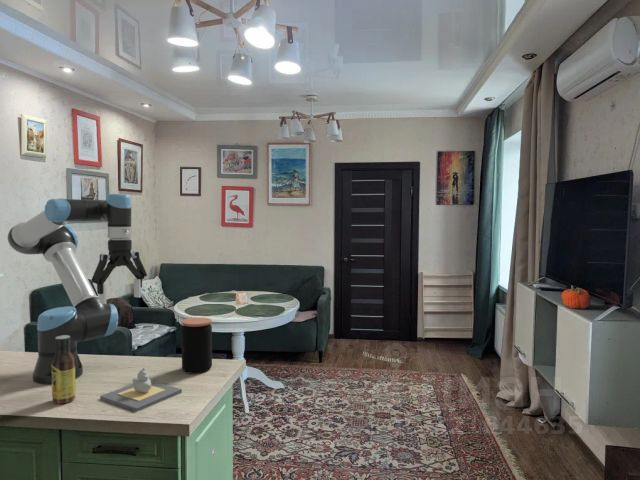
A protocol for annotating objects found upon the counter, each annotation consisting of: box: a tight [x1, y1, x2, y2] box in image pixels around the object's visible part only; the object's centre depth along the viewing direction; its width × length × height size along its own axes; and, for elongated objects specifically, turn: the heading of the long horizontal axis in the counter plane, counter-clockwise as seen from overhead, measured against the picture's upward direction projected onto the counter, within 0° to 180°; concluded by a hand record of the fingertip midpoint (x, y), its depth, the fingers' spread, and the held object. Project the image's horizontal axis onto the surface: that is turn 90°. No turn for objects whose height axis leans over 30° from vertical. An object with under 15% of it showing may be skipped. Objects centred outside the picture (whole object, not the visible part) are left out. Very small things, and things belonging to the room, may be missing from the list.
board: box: [99, 379, 183, 413], centre depth 145 cm, size 17×17×1 cm
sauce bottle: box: [51, 335, 77, 405], centre depth 140 cm, size 7×6×20 cm
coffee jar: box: [181, 317, 213, 374], centre depth 170 cm, size 11×11×18 cm
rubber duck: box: [132, 367, 152, 393], centre depth 145 cm, size 5×7×8 cm
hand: (120, 300), depth 161 cm, fingers open, 13 cm apart
